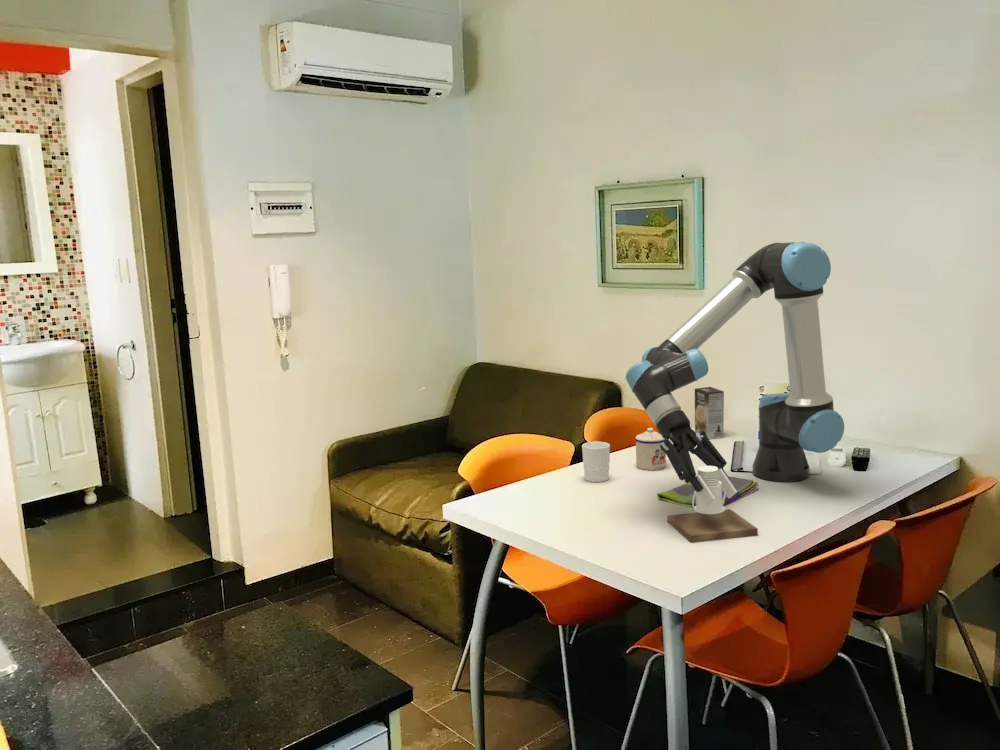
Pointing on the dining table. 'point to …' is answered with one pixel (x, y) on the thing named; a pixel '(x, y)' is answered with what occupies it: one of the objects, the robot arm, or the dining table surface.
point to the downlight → (715, 486)
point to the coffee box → (709, 412)
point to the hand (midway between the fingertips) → (722, 498)
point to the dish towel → (686, 492)
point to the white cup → (596, 461)
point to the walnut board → (711, 526)
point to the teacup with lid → (650, 451)
